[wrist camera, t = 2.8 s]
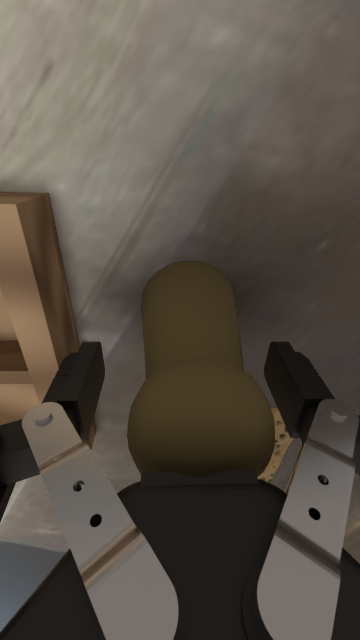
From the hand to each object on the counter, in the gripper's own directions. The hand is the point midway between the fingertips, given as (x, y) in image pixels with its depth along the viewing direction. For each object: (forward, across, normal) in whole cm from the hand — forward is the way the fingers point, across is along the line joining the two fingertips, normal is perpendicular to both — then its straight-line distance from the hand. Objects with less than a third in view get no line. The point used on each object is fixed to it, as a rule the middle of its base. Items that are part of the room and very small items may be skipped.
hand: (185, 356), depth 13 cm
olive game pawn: (+6, 0, 0) cm, 6 cm away
